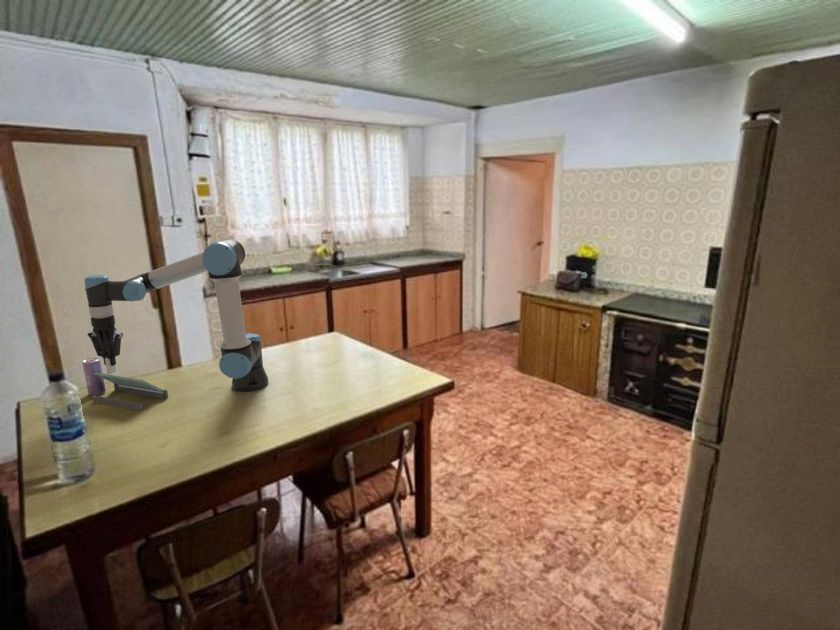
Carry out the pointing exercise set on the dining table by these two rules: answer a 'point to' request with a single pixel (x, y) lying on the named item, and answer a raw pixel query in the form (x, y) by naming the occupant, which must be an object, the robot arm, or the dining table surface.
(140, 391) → the plastic rails
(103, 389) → the beverage can
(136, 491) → the dining table surface
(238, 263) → the robot arm
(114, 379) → the cover
